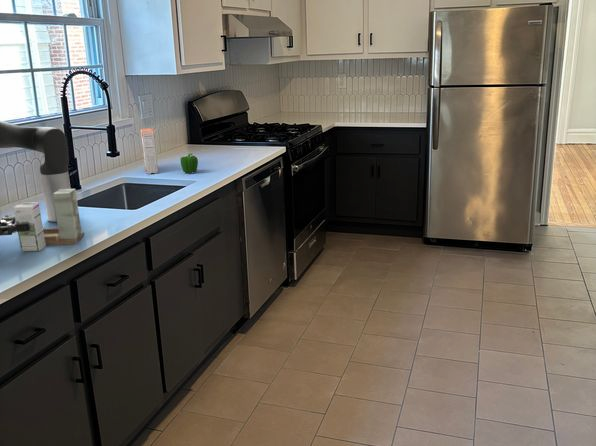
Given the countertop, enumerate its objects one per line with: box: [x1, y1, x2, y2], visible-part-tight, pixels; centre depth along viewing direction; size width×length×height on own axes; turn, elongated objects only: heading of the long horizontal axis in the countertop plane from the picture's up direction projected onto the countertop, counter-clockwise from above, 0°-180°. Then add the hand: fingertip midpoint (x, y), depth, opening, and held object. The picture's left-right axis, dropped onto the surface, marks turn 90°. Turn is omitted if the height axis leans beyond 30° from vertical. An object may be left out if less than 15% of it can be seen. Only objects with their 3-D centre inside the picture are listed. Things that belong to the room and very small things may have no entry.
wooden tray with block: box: [43, 188, 85, 246], centre depth 187 cm, size 9×14×16 cm, turn 93°
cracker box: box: [140, 127, 159, 175], centre depth 289 cm, size 14×6×21 cm, turn 17°
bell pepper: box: [179, 152, 199, 174], centre depth 285 cm, size 8×8×10 cm
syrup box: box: [12, 201, 47, 253], centre depth 179 cm, size 6×6×14 cm
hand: (33, 223), depth 179 cm, fingers open, 8 cm apart
